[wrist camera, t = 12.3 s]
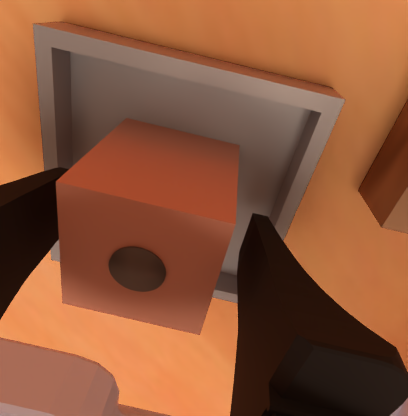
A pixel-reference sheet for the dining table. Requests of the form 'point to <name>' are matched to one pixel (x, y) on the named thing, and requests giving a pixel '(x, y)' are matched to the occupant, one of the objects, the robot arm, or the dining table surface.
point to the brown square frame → (390, 179)
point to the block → (147, 224)
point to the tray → (185, 116)
